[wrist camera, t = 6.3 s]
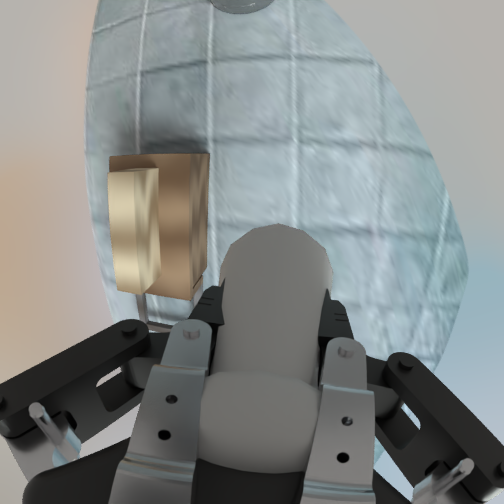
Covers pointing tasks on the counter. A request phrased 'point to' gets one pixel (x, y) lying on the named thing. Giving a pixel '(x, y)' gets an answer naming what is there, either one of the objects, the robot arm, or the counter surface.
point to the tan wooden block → (152, 228)
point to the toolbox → (199, 214)
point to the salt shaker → (266, 353)
